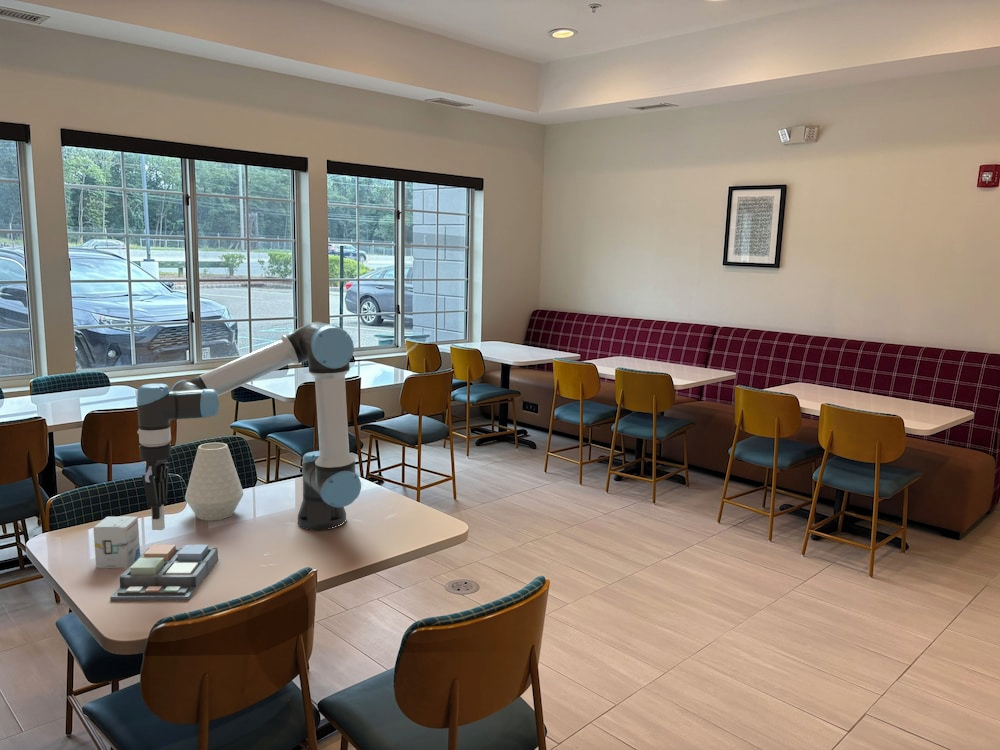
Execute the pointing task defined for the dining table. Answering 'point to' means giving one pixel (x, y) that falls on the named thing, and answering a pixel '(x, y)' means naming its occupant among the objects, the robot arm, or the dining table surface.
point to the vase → (213, 483)
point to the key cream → (182, 569)
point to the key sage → (147, 566)
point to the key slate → (193, 553)
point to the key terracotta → (161, 552)
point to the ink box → (116, 542)
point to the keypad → (164, 581)
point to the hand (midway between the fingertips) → (158, 528)
